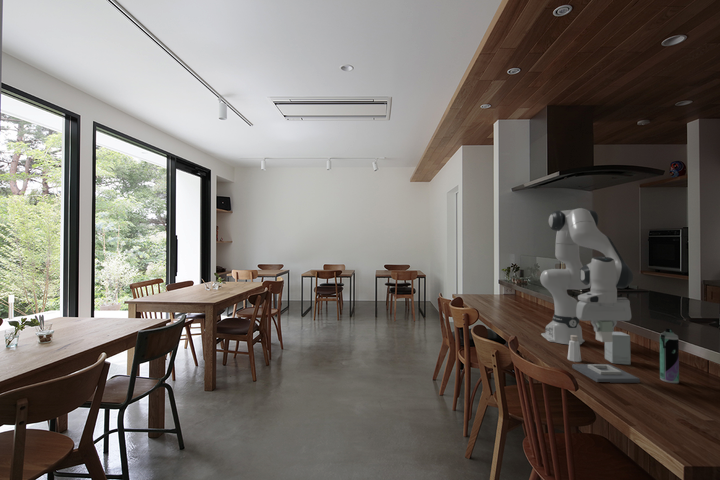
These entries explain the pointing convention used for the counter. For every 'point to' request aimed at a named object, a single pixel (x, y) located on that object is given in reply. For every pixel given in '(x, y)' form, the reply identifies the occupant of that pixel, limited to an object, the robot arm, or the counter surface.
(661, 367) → the spray can
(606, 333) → the block stack
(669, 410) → the counter surface
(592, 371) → the square peg socket board
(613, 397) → the counter surface
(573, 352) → the pepper shaker
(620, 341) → the supplement box
